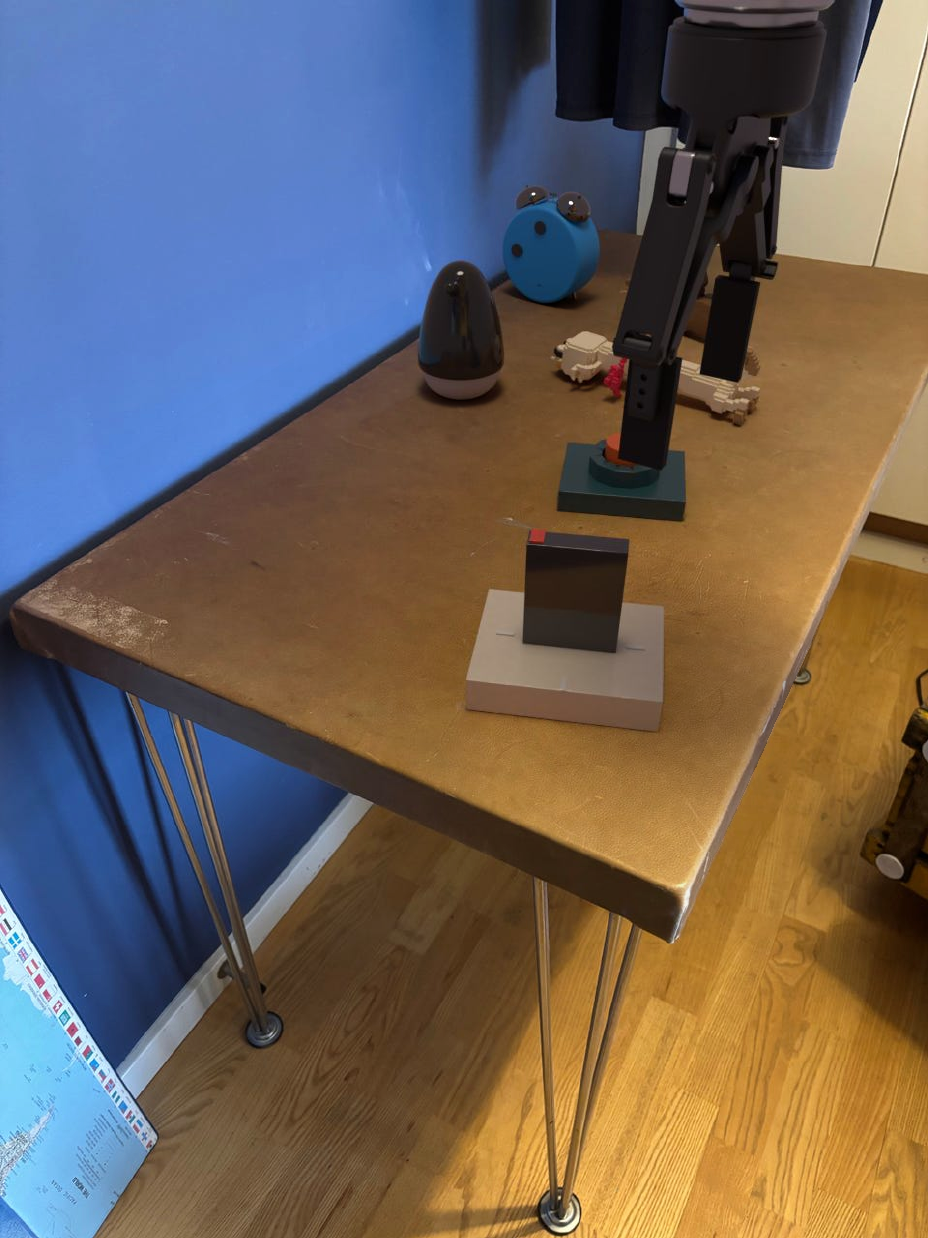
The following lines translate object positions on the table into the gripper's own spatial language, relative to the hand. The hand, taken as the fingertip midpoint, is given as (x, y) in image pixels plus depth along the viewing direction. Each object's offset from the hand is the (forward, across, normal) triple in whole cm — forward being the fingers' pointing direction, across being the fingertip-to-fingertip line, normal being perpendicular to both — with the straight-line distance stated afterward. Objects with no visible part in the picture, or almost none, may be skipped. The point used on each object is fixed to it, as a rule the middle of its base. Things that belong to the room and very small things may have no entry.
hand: (683, 416), depth 58 cm
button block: (+21, -24, -12) cm, 34 cm away
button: (+18, -24, -12) cm, 32 cm away
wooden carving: (+22, -66, -24) cm, 74 cm away
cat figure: (+22, -46, -19) cm, 54 cm away
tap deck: (+21, +4, -5) cm, 22 cm away
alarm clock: (+22, -68, -44) cm, 84 cm away
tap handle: (+18, +4, -5) cm, 19 cm away
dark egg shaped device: (+22, -35, -38) cm, 56 cm away
